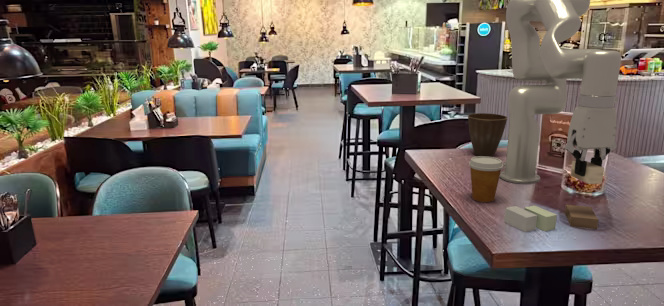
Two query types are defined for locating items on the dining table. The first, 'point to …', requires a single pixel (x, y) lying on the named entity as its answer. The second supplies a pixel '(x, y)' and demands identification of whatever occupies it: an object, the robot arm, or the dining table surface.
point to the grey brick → (520, 218)
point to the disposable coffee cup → (484, 177)
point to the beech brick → (589, 173)
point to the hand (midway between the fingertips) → (587, 173)
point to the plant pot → (486, 132)
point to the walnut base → (581, 217)
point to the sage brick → (543, 218)
